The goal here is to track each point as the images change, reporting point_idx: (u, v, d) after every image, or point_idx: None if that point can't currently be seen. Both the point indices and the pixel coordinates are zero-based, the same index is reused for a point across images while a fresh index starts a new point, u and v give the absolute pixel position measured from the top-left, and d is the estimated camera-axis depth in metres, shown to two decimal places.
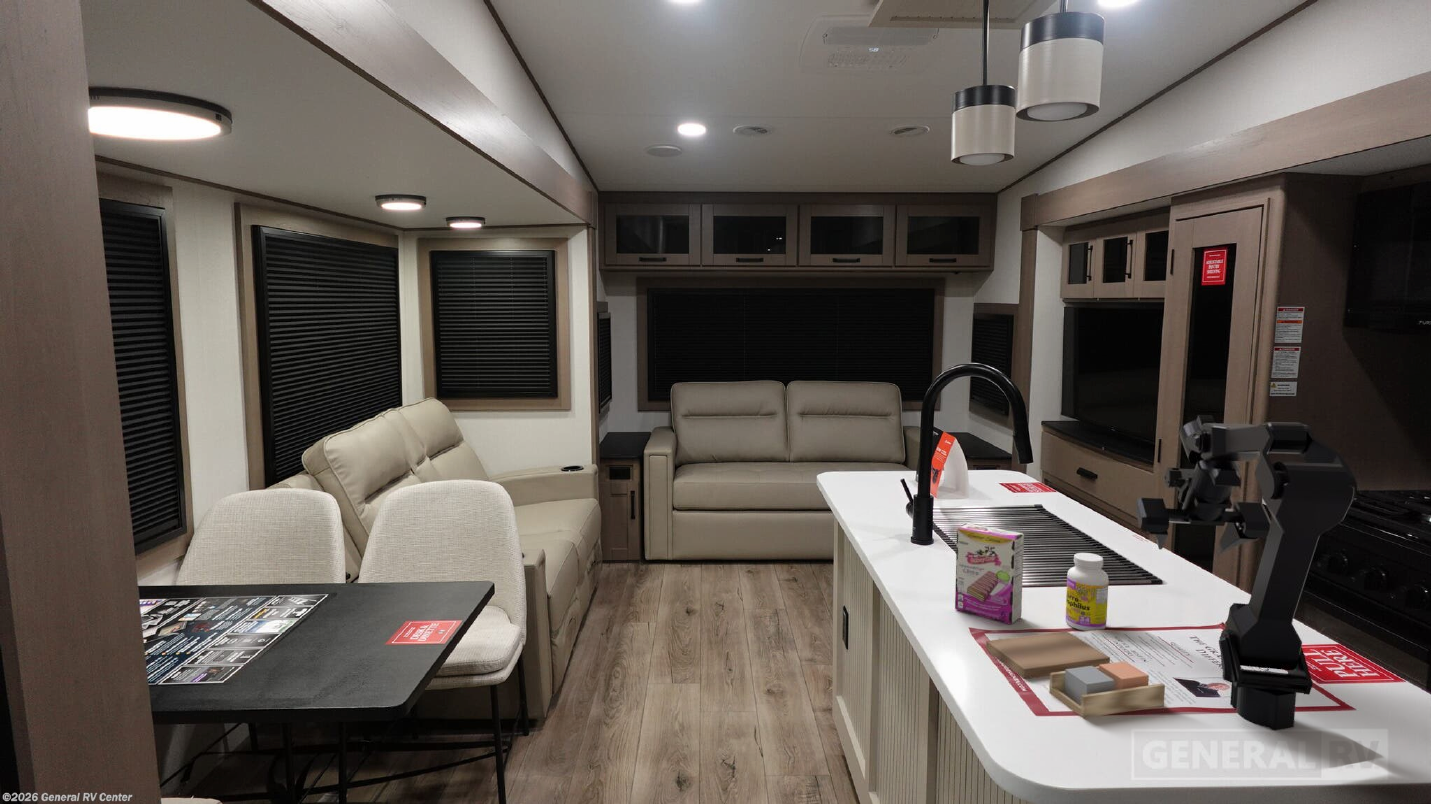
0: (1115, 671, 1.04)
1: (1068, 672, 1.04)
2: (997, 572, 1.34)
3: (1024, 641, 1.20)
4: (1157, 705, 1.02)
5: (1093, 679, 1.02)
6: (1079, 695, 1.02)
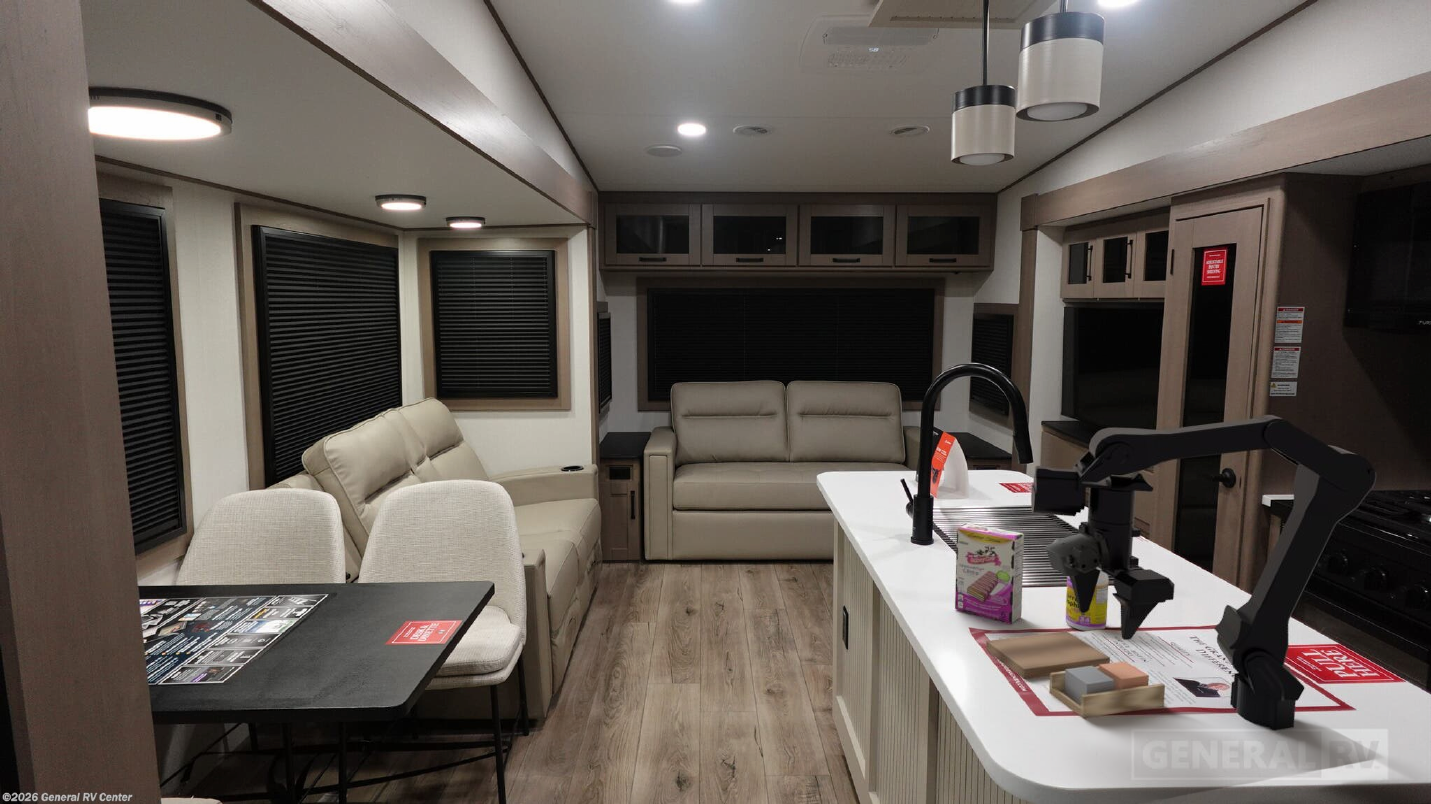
0: (1115, 671, 1.04)
1: (1068, 672, 1.04)
2: (997, 572, 1.34)
3: (1024, 641, 1.20)
4: (1157, 705, 1.02)
5: (1093, 679, 1.02)
6: (1079, 695, 1.02)
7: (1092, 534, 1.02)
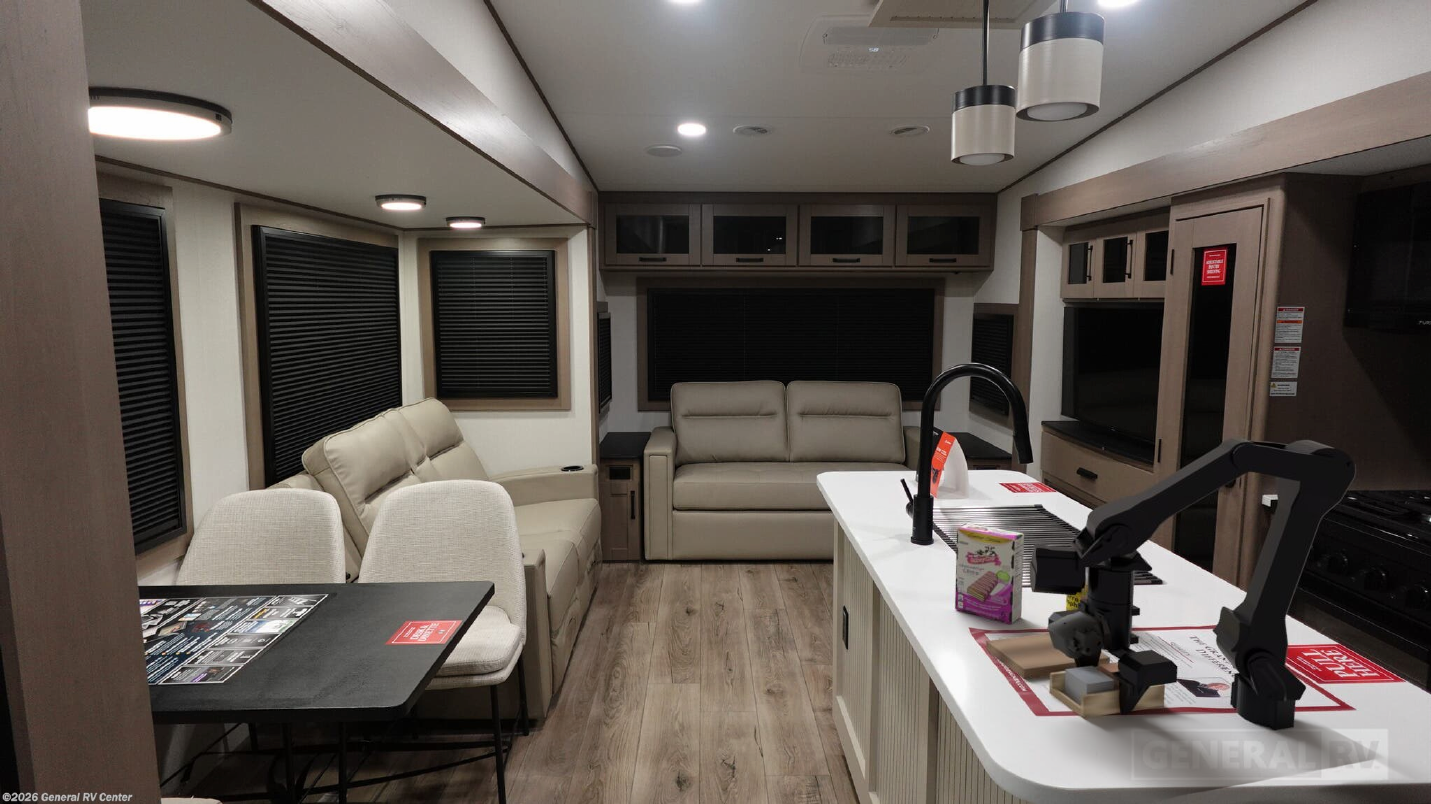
0: (1115, 671, 1.04)
1: (1068, 672, 1.04)
2: (997, 572, 1.34)
3: (1024, 641, 1.20)
4: (1157, 705, 1.02)
5: (1093, 679, 1.02)
6: (1079, 695, 1.02)
7: (1093, 613, 1.02)
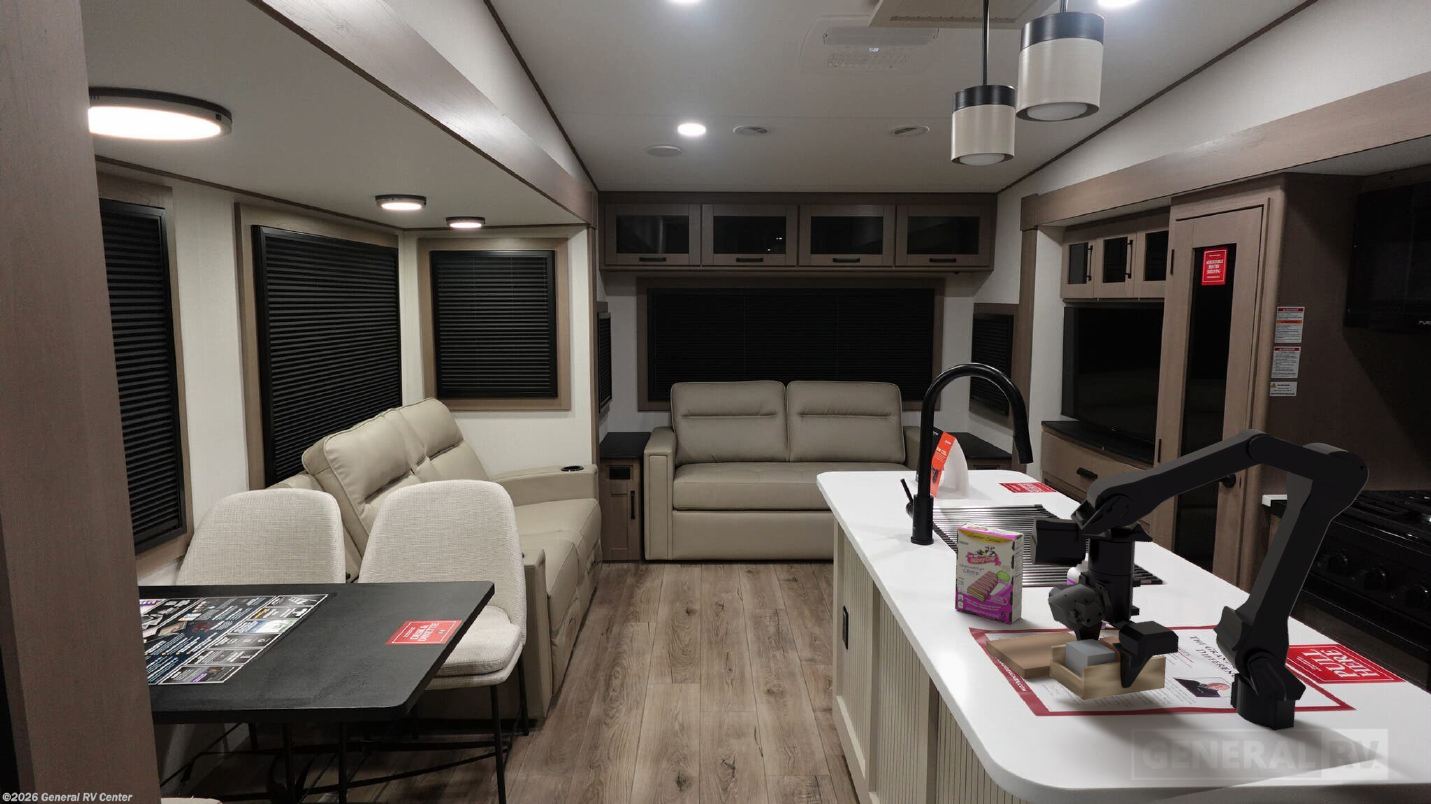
0: None
1: (1069, 645, 1.04)
2: (997, 572, 1.34)
3: (1024, 641, 1.20)
4: (1158, 677, 1.02)
5: (1094, 651, 1.01)
6: (1080, 667, 1.02)
7: (1093, 585, 1.02)
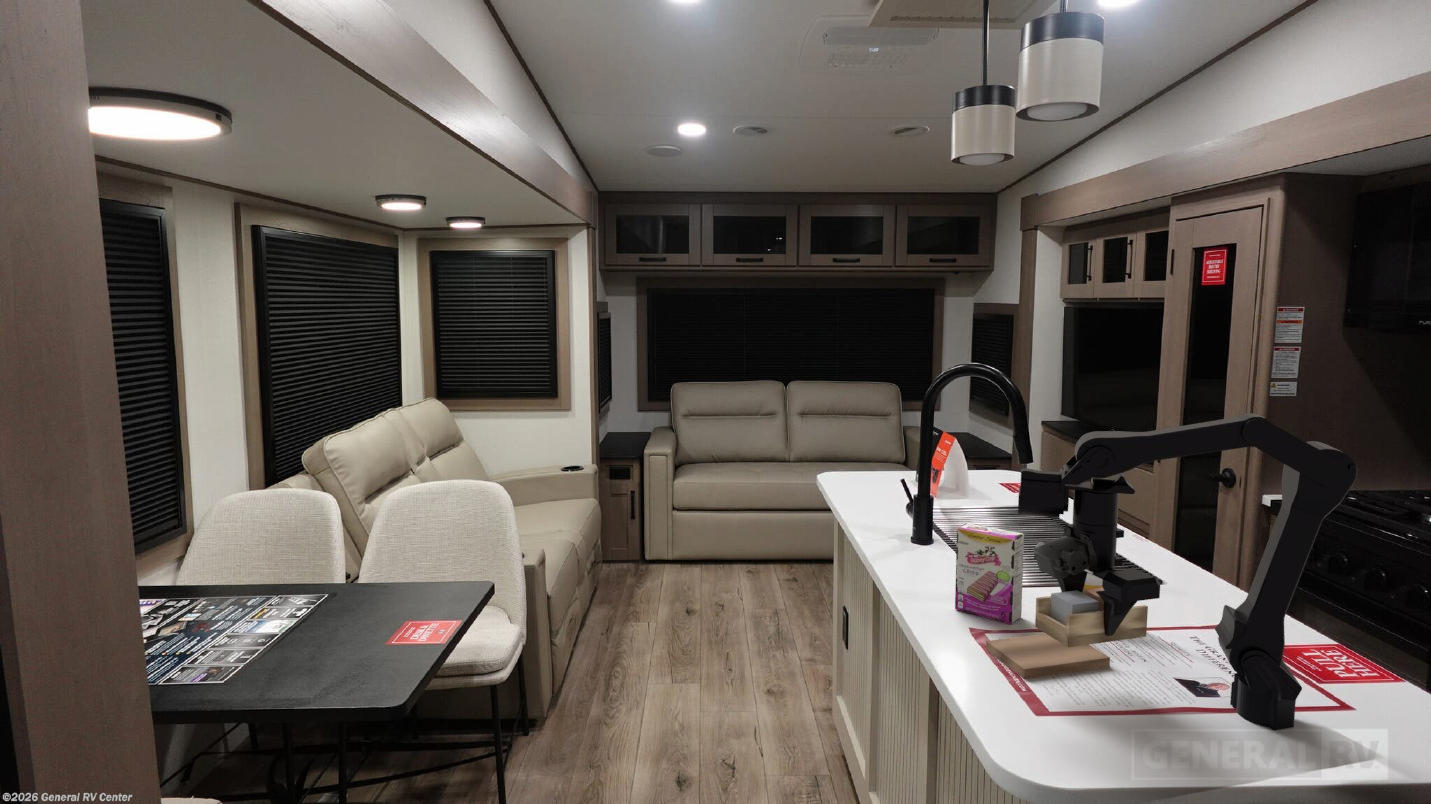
0: None
1: (1054, 596, 1.06)
2: (997, 572, 1.34)
3: (1024, 641, 1.20)
4: (1140, 626, 1.04)
5: (1078, 601, 1.04)
6: (1065, 617, 1.04)
7: (1078, 536, 1.04)
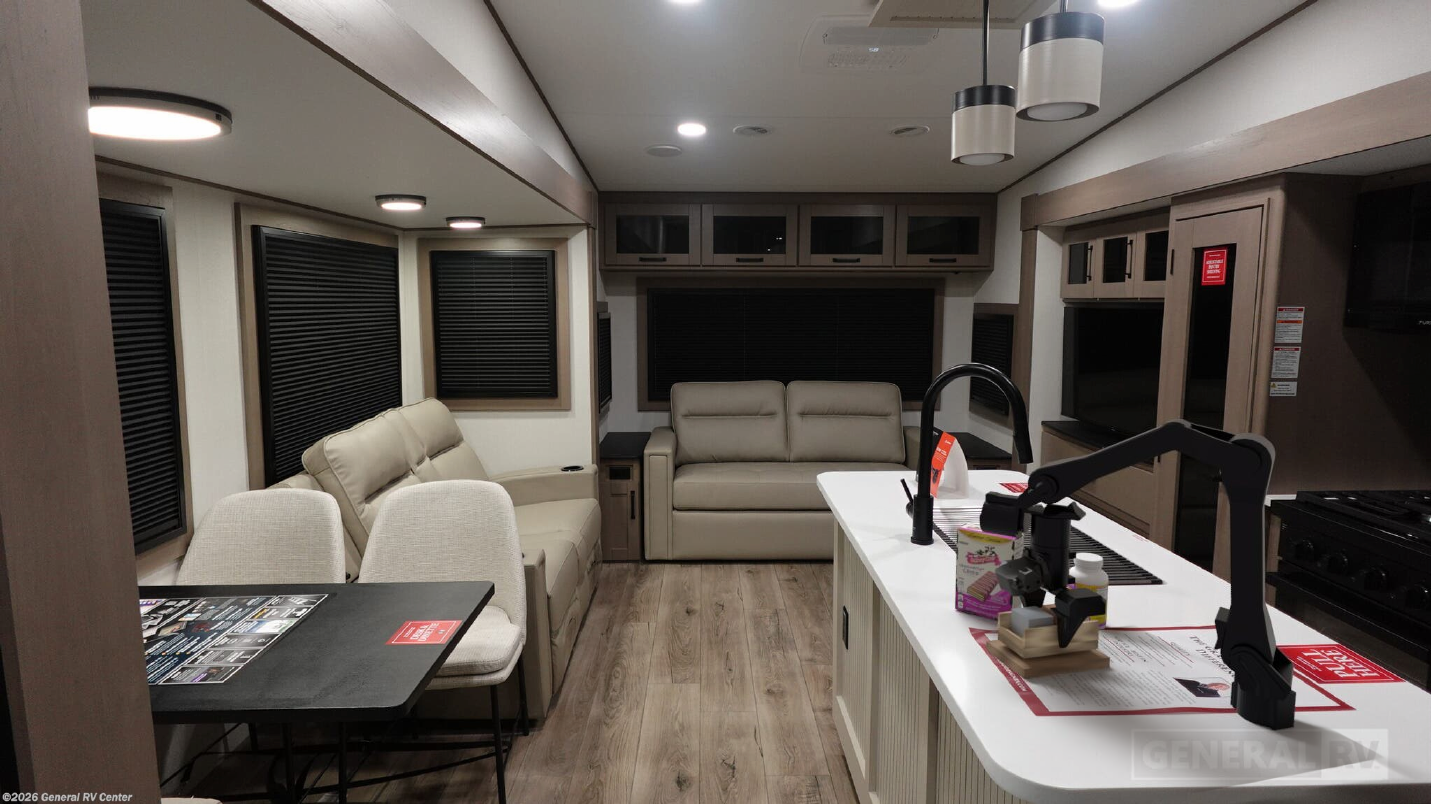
0: None
1: (1013, 611, 1.17)
2: None
3: None
4: (1092, 639, 1.14)
5: (1035, 616, 1.14)
6: (1022, 630, 1.14)
7: (1034, 557, 1.14)
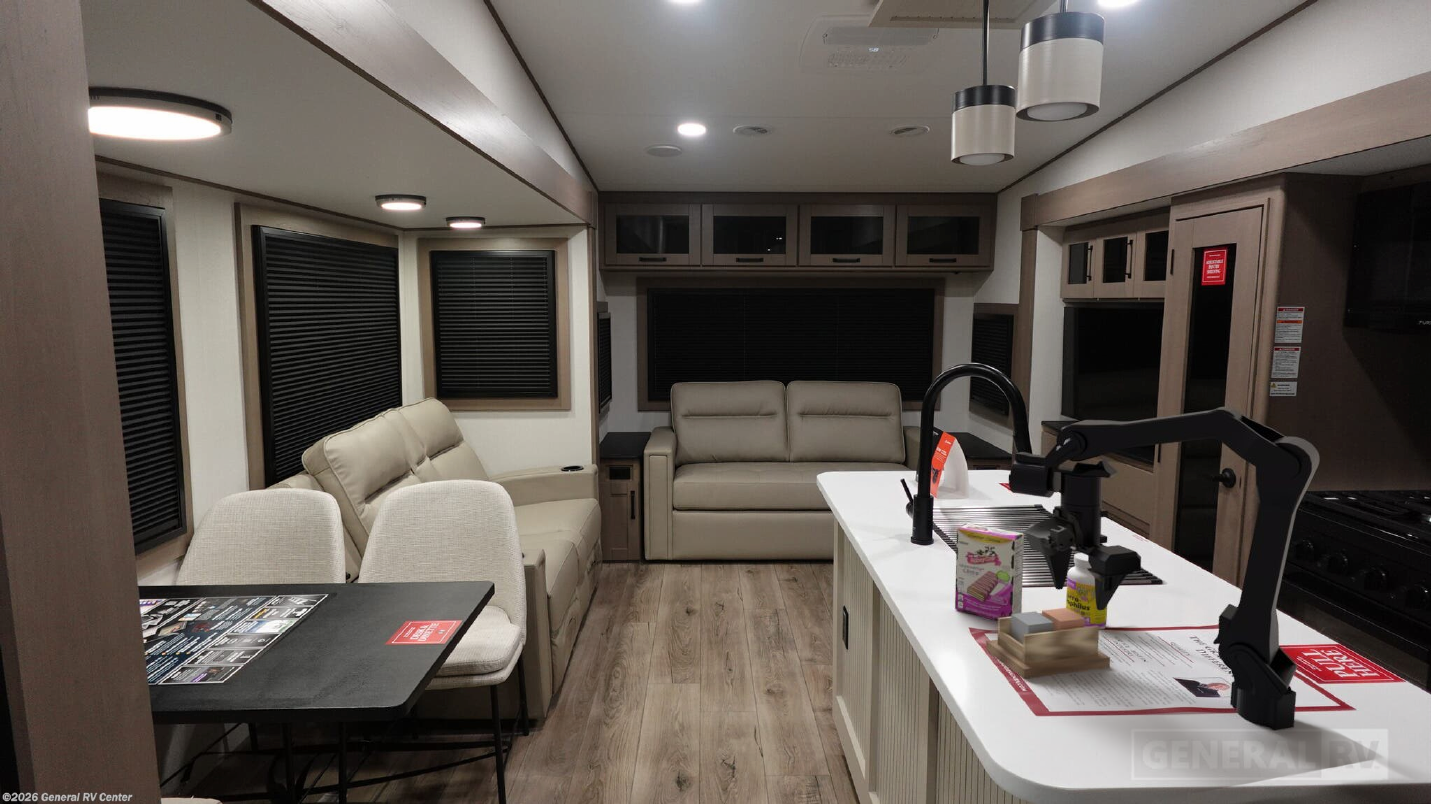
0: (1055, 615, 1.16)
1: (1013, 616, 1.17)
2: (997, 572, 1.34)
3: None
4: (1092, 645, 1.14)
5: (1034, 621, 1.14)
6: (1022, 636, 1.15)
7: (1066, 516, 1.13)
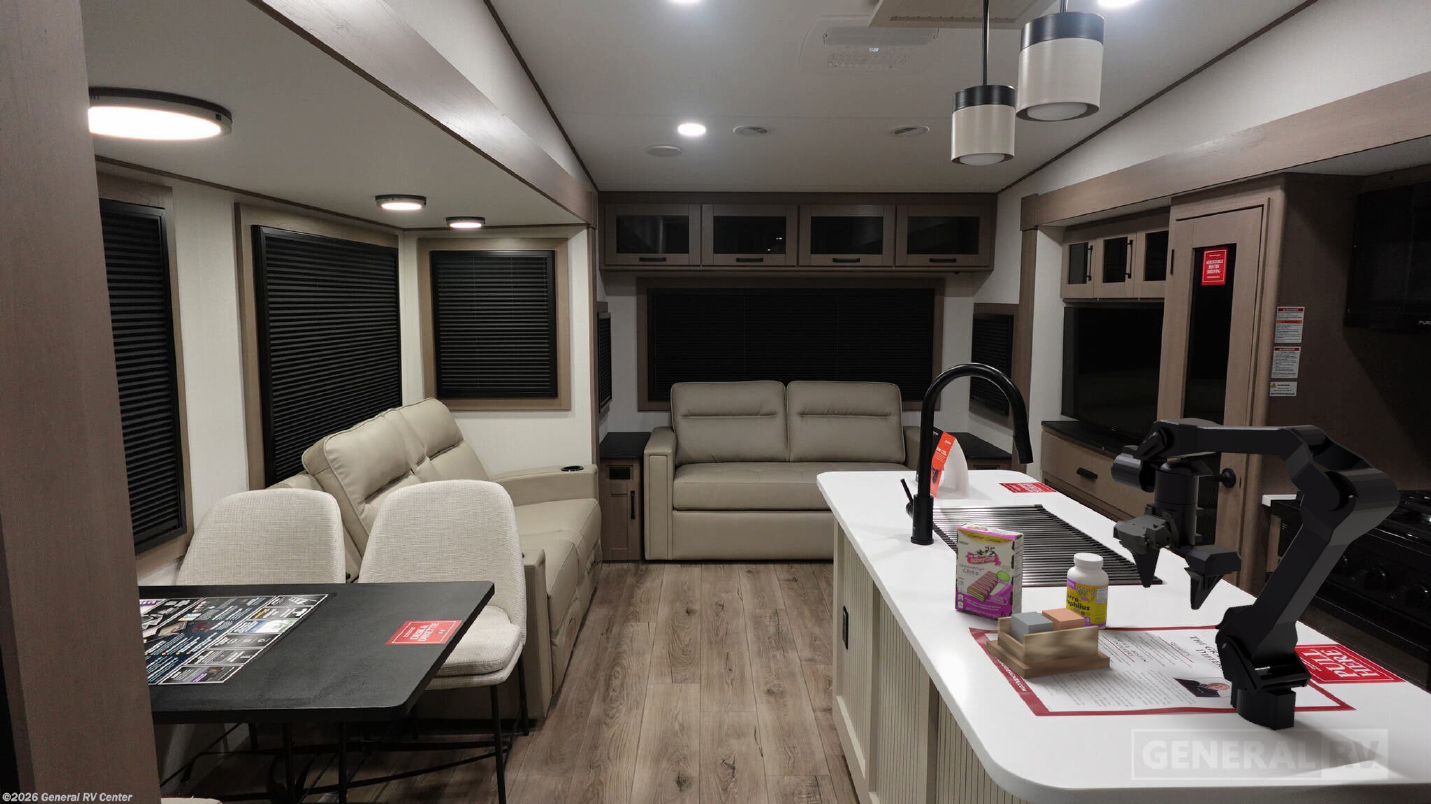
0: (1055, 615, 1.16)
1: (1013, 616, 1.17)
2: (997, 572, 1.34)
3: None
4: (1092, 645, 1.14)
5: (1034, 621, 1.14)
6: (1022, 636, 1.15)
7: (1160, 514, 1.11)
